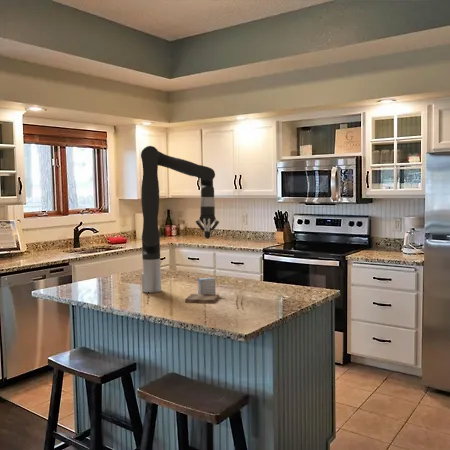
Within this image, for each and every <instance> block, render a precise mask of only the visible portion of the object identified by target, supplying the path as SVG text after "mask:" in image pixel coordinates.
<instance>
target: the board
mask: <svg viewBox="0 0 450 450" xmlns="http://www.w3.org/2000/svg"><path fill="white" fill-rule="evenodd" d="M219 298H220V294H216V295H210V294H198V293H191V294H189V295H188V296H187V297H186V298H185V300H184V302H185V303H189V304H190V303H198V304H199V303H200V304H215V303H216V302H217V301H218V300H219Z"/></svg>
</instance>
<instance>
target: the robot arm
mask: <svg viewBox="0 0 450 450" xmlns="http://www.w3.org/2000/svg"><path fill="white" fill-rule="evenodd" d="M140 158H141V163H142V180H141V188H140V189H141V192H140V193H141V194H140V198H141V199H140V200H141V202H140V203H141V211H142V212H141V213H142V220H143V222H142V224H143V225H142V233H141V234H142V235H141V247H142V248H141V251H142V252H141V253H142V255H141V256H142V258H141V259H142V273H141V290H142V293H148V292H149V293H151V294H152V293H153V294H155V293H158V292H162V271H161V270H162V269H161V240H160V239H161V238H160V237H161V236H160V232H159V223H158V222H159V221H158V220H159V212H160V211H159V210H160V183H159V177H158V176H159V175H158V171H159V170H158V169H159V167H164V168H167V169H170V170H173V171H175V172H177V173H181V174H184V175H186V176H190V177H195V178H198V179H199V180H200V181H199V182H200V204H199V205H200V216H199V219H198V220H196V221H195V223H196V224H197V226H198V227H199V229H200V230H201V231H203V232H204V238H205V240H206V239H207V240H208V239H210V238H211V231H214V230H215V229H216V228H217V226H218V225H219V224H220V221H219V220H218V219H217V217H216V216H215V215H216V213H215V212H216V203H215V202H216V200H215V187H214V178H215V177H216V173H215V170H214V169H213V168H211V167H209V166H205V165H202V164H199V163H198V164H197V163H195V162H192V161H189V160H186V159H183V158H179V157H174V156H170V155H167V154H165V153H163V152H161V151H160V150H158V148H156V147H155V146H153V145H147V146H145V147H143V149H141V152H140ZM213 223H214V224H213ZM212 225H213V226H212Z"/></svg>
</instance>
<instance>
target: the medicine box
mask: <svg viewBox="0 0 450 450" xmlns="http://www.w3.org/2000/svg"><path fill="white" fill-rule="evenodd" d="M197 291H198V292H197V294H210V295H217V294H216V278H214V277H210V276H209V277H201V278H197Z"/></svg>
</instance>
